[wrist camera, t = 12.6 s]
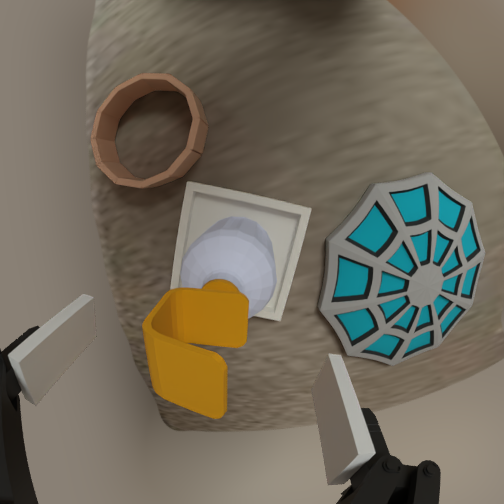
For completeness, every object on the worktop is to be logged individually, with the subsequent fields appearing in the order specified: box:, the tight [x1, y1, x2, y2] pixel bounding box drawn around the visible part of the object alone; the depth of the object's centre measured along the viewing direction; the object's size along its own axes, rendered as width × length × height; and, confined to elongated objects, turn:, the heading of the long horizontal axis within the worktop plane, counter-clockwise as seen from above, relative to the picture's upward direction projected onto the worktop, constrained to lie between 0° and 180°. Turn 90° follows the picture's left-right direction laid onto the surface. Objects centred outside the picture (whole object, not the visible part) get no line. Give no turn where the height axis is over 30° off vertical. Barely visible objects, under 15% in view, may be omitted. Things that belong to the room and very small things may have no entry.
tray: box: [170, 181, 311, 321], centre depth 34 cm, size 15×15×2 cm
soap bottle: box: [142, 216, 277, 419], centre depth 23 cm, size 9×9×25 cm
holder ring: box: [91, 73, 209, 188], centre depth 30 cm, size 14×14×5 cm
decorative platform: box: [318, 172, 485, 366], centre depth 34 cm, size 31×29×5 cm
